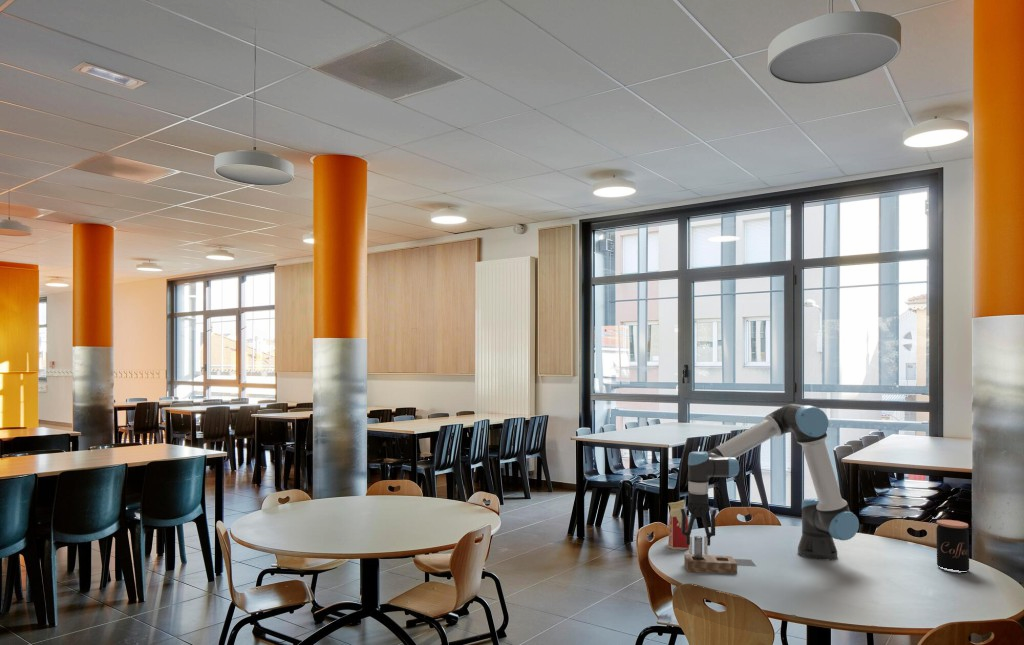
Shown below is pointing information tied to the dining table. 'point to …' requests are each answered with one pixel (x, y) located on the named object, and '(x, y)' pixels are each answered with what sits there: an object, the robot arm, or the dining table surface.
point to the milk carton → (677, 527)
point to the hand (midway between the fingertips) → (698, 553)
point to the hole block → (710, 564)
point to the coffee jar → (952, 545)
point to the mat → (744, 562)
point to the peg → (697, 548)
